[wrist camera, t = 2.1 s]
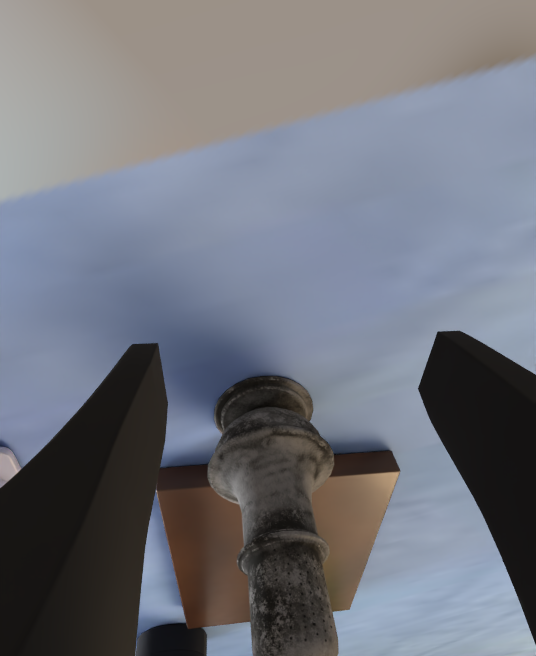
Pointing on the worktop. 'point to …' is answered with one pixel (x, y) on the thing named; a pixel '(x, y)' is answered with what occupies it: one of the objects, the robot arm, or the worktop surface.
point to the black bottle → (172, 641)
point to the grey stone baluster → (277, 512)
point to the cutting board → (227, 540)
